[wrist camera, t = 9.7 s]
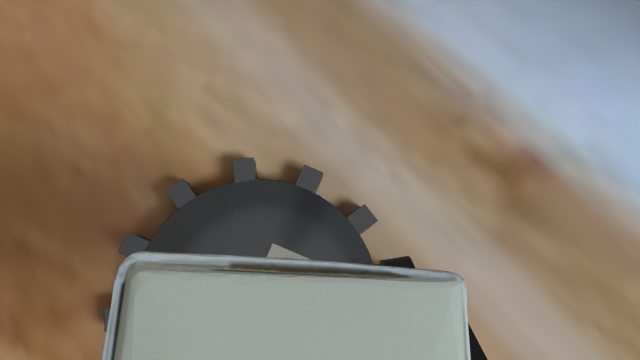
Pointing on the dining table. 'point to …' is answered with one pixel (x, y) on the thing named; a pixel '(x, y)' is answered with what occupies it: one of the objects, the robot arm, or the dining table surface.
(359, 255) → the sprocket
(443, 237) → the dining table surface
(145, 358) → the box
